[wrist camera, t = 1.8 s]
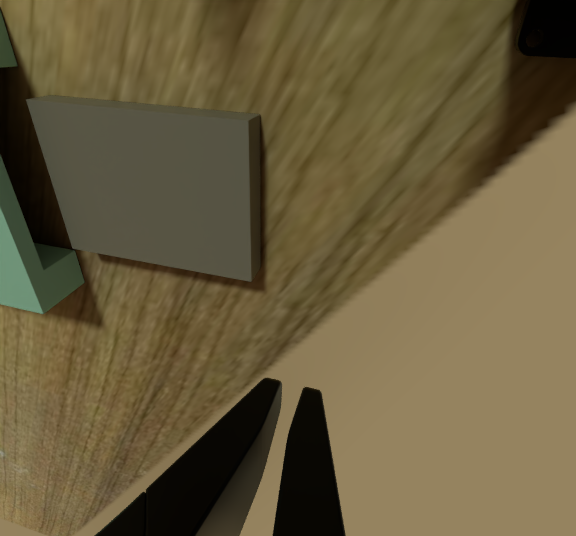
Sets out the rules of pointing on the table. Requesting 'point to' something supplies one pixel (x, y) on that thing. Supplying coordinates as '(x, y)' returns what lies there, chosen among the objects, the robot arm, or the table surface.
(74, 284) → the overhang
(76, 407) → the table surface
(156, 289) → the table surface
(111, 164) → the thin grey plate
